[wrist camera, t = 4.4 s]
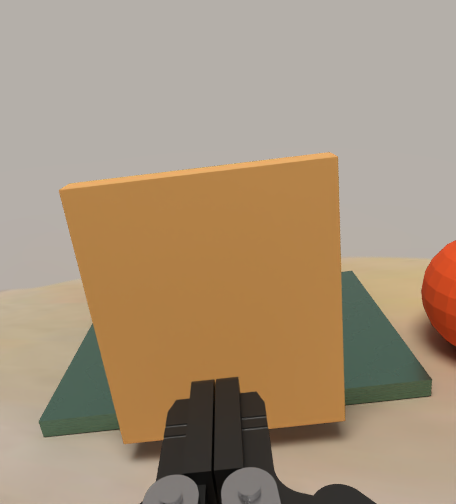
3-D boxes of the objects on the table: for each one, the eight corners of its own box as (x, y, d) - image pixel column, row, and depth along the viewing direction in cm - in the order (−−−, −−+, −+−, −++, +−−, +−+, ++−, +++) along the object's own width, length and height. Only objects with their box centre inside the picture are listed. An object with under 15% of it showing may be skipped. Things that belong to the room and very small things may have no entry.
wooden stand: (123, 444, 20) (58, 189, 16) (156, 326, 29) (121, 152, 25) (345, 420, 19) (338, 156, 15) (303, 309, 29) (291, 131, 25)
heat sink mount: (43, 436, 22) (-21, 245, 19) (108, 309, 36) (78, 182, 32) (430, 395, 22) (442, 191, 18) (352, 282, 35) (349, 149, 31)
